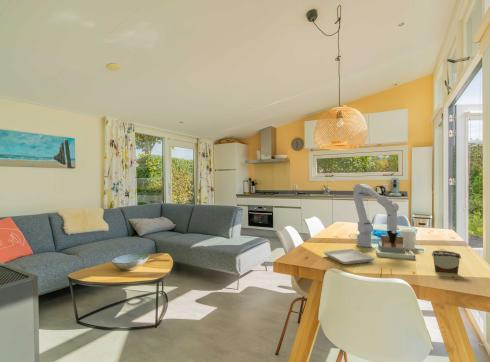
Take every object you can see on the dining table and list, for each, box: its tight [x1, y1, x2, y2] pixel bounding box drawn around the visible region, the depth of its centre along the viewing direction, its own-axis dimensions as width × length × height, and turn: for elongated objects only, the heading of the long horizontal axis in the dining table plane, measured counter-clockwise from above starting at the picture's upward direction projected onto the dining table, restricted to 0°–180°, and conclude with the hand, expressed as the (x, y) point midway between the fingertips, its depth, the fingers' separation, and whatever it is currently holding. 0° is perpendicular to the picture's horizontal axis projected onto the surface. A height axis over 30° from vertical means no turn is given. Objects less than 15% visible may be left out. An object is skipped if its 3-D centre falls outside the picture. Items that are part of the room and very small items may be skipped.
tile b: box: [395, 243, 403, 249], centre depth 172 cm, size 4×4×2 cm
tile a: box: [383, 242, 391, 248], centre depth 174 cm, size 4×4×2 cm
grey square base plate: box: [377, 241, 406, 253], centre depth 179 cm, size 14×13×4 cm
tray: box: [375, 247, 416, 261], centre depth 167 cm, size 20×12×2 cm, turn 70°
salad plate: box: [323, 248, 375, 265], centre depth 160 cm, size 21×21×3 cm
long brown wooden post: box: [380, 234, 403, 246], centre depth 176 cm, size 12×3×6 cm, turn 70°
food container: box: [431, 250, 462, 275], centre depth 139 cm, size 12×6×10 cm, turn 71°
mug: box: [400, 229, 417, 251], centre depth 186 cm, size 12×8×12 cm
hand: (392, 242), depth 176 cm, fingers closed on long brown wooden post, 3 cm apart
